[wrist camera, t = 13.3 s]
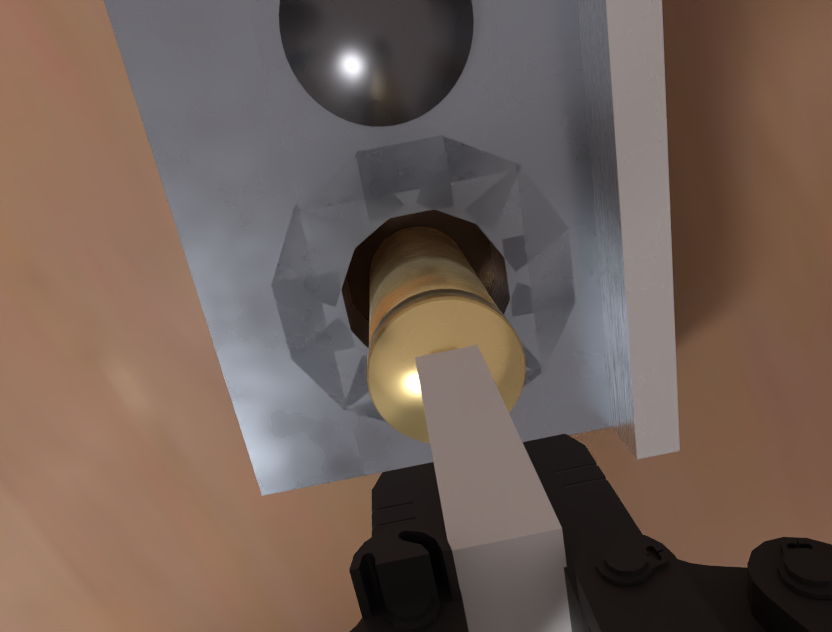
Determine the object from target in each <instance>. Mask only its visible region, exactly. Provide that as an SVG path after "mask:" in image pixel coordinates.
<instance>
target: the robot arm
mask: <svg viewBox="0 0 832 632" xmlns="http://www.w3.org/2000/svg"><path fill="white" fill-rule="evenodd" d="M415 361H416V366H417V372H418V378H419V383H420V389H421V394H422V400H423V406H424V411H425V417H426V422H427V428H428V434H429V439H430V445H431V450H432V456H433V462H430V463H425V464H420V465H415V466H410V467H405V468H400V469H396V470H391V471H386V472H382V474H381V476H380V478H379V479H378V481H377V483H376V484H375V486H374V488H373V490H372V529H373V530H372V538H370V539H369V540H367V541H366V542H364V544H363V545H362V546H361V547H360V548H359V550H358V551H357V552H356V553H355V555H354V556H353V560H352V563H351V566H350V574H351V578H352V581H353V585H354V589H355V592H356V596H357V599H358V603H359V607H360V610H361V614H362V617H363V618H362V619H361V620H360V622H359V623H358V624H357V626H356V627H354V628H353V629H352V630H351V631H350V632H832V545H831V544H827V543H823V542H820V541H816V540H812V539H808V538H793V537H782V538H777V539H773V540H769V541H765V542H763V543H762V544H761V545H759V546H758V547H757V548H755V549H754V550H753V551H752V552H751V555H750V558H749V561H748V568H741V567H723V566H707V565H699V564H692V563H688V562H685V561H682V560H678V559H677V558H676V557H675V555H674V554H673V553H672V552H671V551H670V550H668V549H667V548H666V547H665V546H664V545H663V544H662V543H660V542H658V541H656V540H654V539H652V538H650V537H648V536H646V535H643V534H642V533H641V531H640V530H639V528H638V527H637V525H636V524H635V522H634V521H633V519H632V518H631V516H630V514H629V513H628V511H627V510H626V508H625V507H624V505H623V504H622V502H621V500H620V499H619V497H618V496H617V494H616V493H615V491H614V490H613V488H612V487H611V485H610V483H609V482H608V480H607V481H606V478H605V476H604V474H603V473H602V471H601V469H600V468H599V466H597V465H596V462H595V460H594V459H593V457H592V455H591V454H590V452H589V451H588V449H587V448H586V446H585V445H583V444H581V443H580V442H578V441H577V440H575V439H573V438H572V437H570V436H568V435H567V434H561V435H556V436H551V437H546V438H541V439H536V440H531V441H526V442H522V440H521V438H520V436H519V434H518V432H517V429H516V427H515V425H514V423H513V421H512V419H511V416H510V414H509V412H508V410H507V408H506V406H505V403H504V401H503V399H502V397H501V395H500V392H499V390H498V388H497V386H496V384H495V382H494V379H493V377H492V375H491V373H490V371H489V369H488V366H487V364H486V362H485V360H484V358H483V356H482V353H481V351H480V349H479V347H478V345H474V346H469V347H464V348H459V349H454V350H449V351H444V352H439V353H434V354H429V355H424V356H419V357H415Z"/></svg>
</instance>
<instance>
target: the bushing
mask: <svg viewBox="0 0 832 632" xmlns="http://www.w3.org/2000/svg"><path fill="white" fill-rule="evenodd" d="M474 345H478V347H479V349H480V351H481V353H482V356H483V358H484V360H485V362H486V364H487V366H488V369H489V371H490V373H491V375H492V377H493V379H494V382H495V384H496V386H497V388H498V390H499V392H500V395H501V397H502V399H503V401H504V403H505V406H506V408H507V410H508V412H509V413H510V411H511V410H512V408H513V407H514V406H515V404H516V402H517V400H518V398H519V396H520V394H521V391H522V388H523V385H524V380H525V373H526V362H525V355H524V350H523V347H522V344H521V341H520V339H519V337H518V335H517V334H516V332H515V330H514V329H513V327H512V326H511V324H510V323H509V321H508V320H507V318H506V317H505V316H504V314H503V313H502V312H501V311H500V310H499V309H498V307H497V306H496V304H495V303H494V301H493V300H492V298H491V296H490V295H489V293H488V292H487V290H486V289H485V287H484V285H483V284H482V282H481V281H480V279H479V278H478V276H477V275H476V273H475V271H474V270H473V268H472V267H471V265H470V264H469V262H468V260H467V259H466V257H465V256H464V254H463V253H462V251H461V250H460V248H459V247H458V245H457V244H456V243H455V242H454V241H453V240H452V239H451V238H450V237H449V236H448V235H446V234H445V233H443V232H441V231H439V230H437V229H434V228H430V227H423V226H415V227H409V228H405V229H402V230H399V231H397V232H395V233H393V234H392V235H390V236H389V237H388V238H386V239H385V240H384V241H383V242H382V244H381V245H380V246H379V247H378V249H377V251H376V252H375V254H374V257H373V259H372V263H371V267H370V314H369V348H368V355H367V384H368V390H369V393H370V396H371V399H372V401H373V403H374V405H375V407H376V409H377V410H378V412H379V414H380V415H381V416H382V417H383V418H384V420H385V421H386V422H387V423H388V424H389V425H391V426H392V427H393V428H394V429H396V430H397V431H399V432H400V433H402V434H404V435H406V436H408V437H410V438H412V439H415V440H418V441H421V442H425V443H430V439H429V434H428V428H427V422H426V417H425V411H424V406H423V400H422V394H421V389H420V383H419V378H418V372H417V366H416V361H415V357H419V356H424V355H429V354H434V353H439V352H444V351H449V350H454V349H459V348H464V347H469V346H474Z"/></svg>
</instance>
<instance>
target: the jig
mask: <svg viewBox="0 0 832 632" xmlns="http://www.w3.org/2000/svg"><path fill="white" fill-rule="evenodd" d="M104 3H105V6H106V9H107V12H108V15H109V18H110V21H111V25H112V28H113V31H114V34H115V37H116V40H117V43H118V46H119V50H120V53H121V56H122V59H123V62H124V65H125V68H126V71H127V75H128V78H129V81H130V84H131V87H132V90H133V93H134V97H135V100H136V103H137V106H138V109H139V112H140V115H141V118H142V122H143V125H144V128H145V131H146V134H147V137H148V140H149V143H150V147H151V150H152V153H153V156H154V159H155V162H156V165H157V168H158V172H159V175H160V178H161V181H162V184H163V187H164V190H165V193H166V197H167V200H168V203H169V206H170V209H171V212H172V215H173V218H174V222H175V225H176V228H177V231H178V234H179V237H180V240H181V243H182V247H183V250H184V253H185V256H186V259H187V262H188V265H189V269H190V272H191V275H192V278H193V281H194V284H195V287H196V290H197V294H198V297H199V300H200V303H201V306H202V309H203V312H204V315H205V319H206V322H207V325H208V328H209V331H210V334H211V337H212V340H213V344H214V347H215V350H216V353H217V356H218V359H219V362H220V365H221V369H222V372H223V375H224V378H225V381H226V384H227V387H228V390H229V394H230V397H231V400H232V403H233V406H234V409H235V412H236V416H237V419H238V422H239V425H240V428H241V431H242V434H243V437H244V441H245V444H246V447H247V450H248V453H249V456H250V459H251V462H252V466H253V469H254V472H255V475H256V478H257V481H258V484H259V487H260V491H261V494H262V496H263V495H268V494H273V493H278V492H284V491H289V490H294V489H299V488H304V487H309V486H314V485H319V484H324V483H329V482H334V481H339V480H344V479H350V478H355V477H360V476H365V475H370V474H375V473H380V472H385V471H390V470H395V469H400V468H405V467H410V466H415V465H420V464H425V463H430V462H433V456H432V450H431V445H430V443H425V442H421V441H418V440H415V439H412V438H410V437H408V436H406V435H404V434H402V433H400V432H399V431H397V430H396V429H394V428H393V427H392V426H391V425H389V424H388V423H387V422H386V421H385V420H384V418H383V417H382V416H381V415H380V414H379V412H378V410H377V409H376V407H375V405H374V403H373V401H372V399H371V396H370V393H369V390H368V384H367V355H368V348H369V322H368V321H367V320H366V319H365V317H364V316H363V315H362V314H361V313H360V312H359V311H358V310H357V309H356V308H355V307H354V306H353V302H352V298H351V293H350V289H349V285H348V280H347V276H346V274H347V271H348V268H349V265H350V262H351V258H352V255H353V252H354V249H355V248H356V247H357V246H358V245H359V244H360V243H361V242H363V241H364V240H365V239H366V238H367V237H368V236H369V235H371V234H372V233H373V232H374V231H375V230H376V229H377V228H379V227H380V226H381V225H382V224H383V223H384V222H385V221H387V220H388V219H389V218H393V217H398V216H403V215H408V214H414V213H419V212H424V211H429V210H434V209H435V210H438V211H440V212H443V213H446V214H449V215H452V216H455V217H458V218H460V219H463V220H466V221H469V222H472V223H475V224H476V225H477V227H478V228H479V229H480V230H481V231H482V233H483V234H484V235H485V236H486V238H487V239H488V240H489V243H490V250H491V257H492V264H493V271H494V281H493V283H492V286H491V288H490V291H489V295H490V296H491V298H492V300H493V301H494V303H495V304H496V306H497V307H498V309H499V310H500V311H501V312H502V313H503V314H504V316H505V317H506V318H507V320H508V321H509V323H510V324H511V326H512V327H513V329H514V330H515V332H516V334H517V335H518V337H519V339H520V341H521V344H522V347H523V350H524V355H525V362H526V373H525V380H524V385H523V388H522V391H521V394H520V396H519V398H518V400H517V402H516V404H515V406H514V407H513V408H512V410H511V411H510V413H509V414H510V416H511V419H512V421H513V423H514V425H515V427H516V429H517V432H518V434H519V436H520V438H521V440H522V442H526V441H531V440H536V439H541V438H546V437H551V436H556V435H561V434H567V435H573V434H578V433H583V432H588V431H593V430H598V429H603V428H609V427H613V429H614V430H615V431H616V432H617V434H618V435H619V436H620V438H621V439H622V440H623V442H624V443H625V444H626V446H627V447H628V448H629V450H630V451H631V452H632V454H633V455H634V456H635V457H636V459H642V458H647V457H652V456H657V455H662V454H667V453H672V452H677V451H680V445H679V420H678V395H677V369H676V344H675V319H674V293H673V268H672V243H671V217H670V192H669V166H668V141H667V116H666V90H665V65H664V40H663V14H662V0H104Z"/></svg>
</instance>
